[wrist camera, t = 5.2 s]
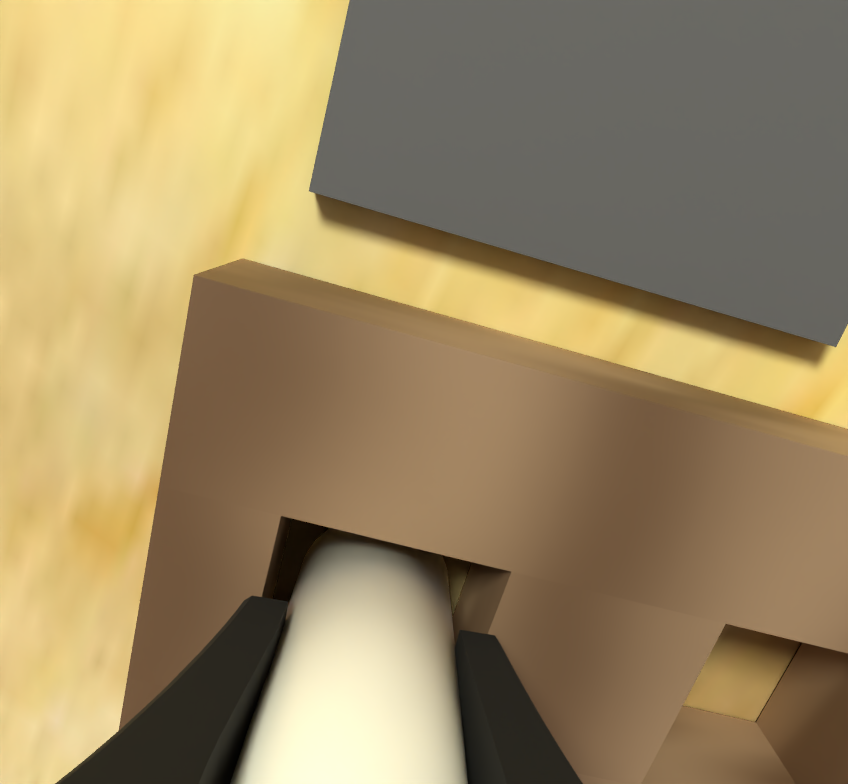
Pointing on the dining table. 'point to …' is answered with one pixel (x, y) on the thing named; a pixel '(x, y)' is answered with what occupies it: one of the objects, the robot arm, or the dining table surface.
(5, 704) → the dining table surface
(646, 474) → the socket board
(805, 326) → the mat
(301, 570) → the plug
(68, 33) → the dining table surface
